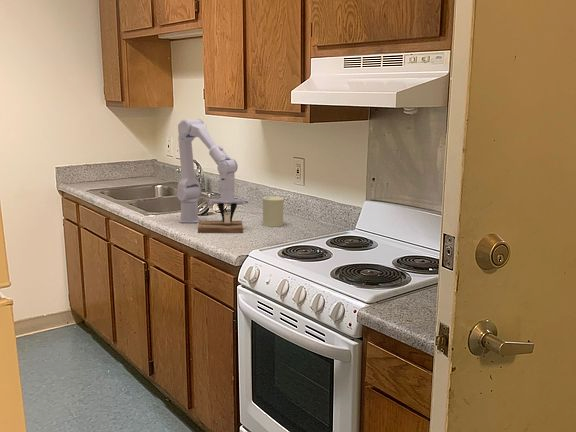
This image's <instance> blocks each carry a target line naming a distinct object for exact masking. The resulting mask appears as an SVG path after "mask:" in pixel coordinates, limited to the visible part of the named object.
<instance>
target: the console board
mask: <svg viewBox="0 0 576 432" xmlns="http://www.w3.org/2000/svg"><path fill="white" fill-rule="evenodd" d="M243 225H244V224H243V221H242V220H232V222H230V225H224V222H223V220H199V222H198V226H197V233H198V234H243V232H244V227H243Z"/></svg>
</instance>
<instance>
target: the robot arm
mask: <svg viewBox="0 0 576 432" xmlns="http://www.w3.org/2000/svg"><path fill="white" fill-rule="evenodd" d="M177 130H178V136H177V139H178V140H177V141H178V151H179V160H180V171H181V180H180V181H179V182H178V183H177V191H176V197H177V198H178V201H179V202H180V219H179V224H181V223H182V224H184V223H185V224H186V223H187V224H192V223H197V224H199V221H200V217H198V216H199V211H198V210H199V206H198V204H199V201H200V199H201V197H202V193H203V192H202V188H201V185H200V181H198V180H197V178H195V177H196V176H195V167H194V155H193V145H192V142H193V141H194V140H195V138H198V139H199V140H200V141H201V142H202V143H203V144H204V145H205V146H206V148H207V149H208V150H209V153H208V154H209V156H210V157H211V159H212V160H213V161H214V163H215V164H216V165H217V172H218V174H219V179H220V186H219V187H220V193H219V194H220V197H219V198H210V199H209V205H217V208H218V210H219V212H220V215H221V218H222V219H221V221H223V222H224V213H225V205H230V222H232V221H233V217H234V213H235V211H236V209H237V206H238V205H244V206H245V205H246V198H245V199H244V198H243V199H242V198H235V176H236V175H235V173H236V172H237V171H238V166H239V165H238V162H237V161H236V159H234V158H231V157H230V156H229V155H228V154H227V152H225V150H224V147H223V146H221V145H218V144H217V143H216V142H215V140H214V138H213V137H212V136H211V135H210V133H209V131H208V130H207V125H206V123H205V122H204V121H203V119H200V118H197V119H184V118H183V119H182V120H180V122H179V123H178V124H177Z"/></svg>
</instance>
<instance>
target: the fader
mask: <svg viewBox="0 0 576 432" xmlns="http://www.w3.org/2000/svg"><path fill="white" fill-rule="evenodd" d="M230 214H231V212H224V225H230Z"/></svg>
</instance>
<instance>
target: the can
mask: <svg viewBox="0 0 576 432" xmlns="http://www.w3.org/2000/svg"><path fill="white" fill-rule="evenodd" d="M284 200H285V198H284V197H281V196H264V197H262V224H261V225H263V226H264V227H269V228H270V227H271V228H274V227H276V228H279V227H282V226H284V205H285V204H284Z"/></svg>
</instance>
